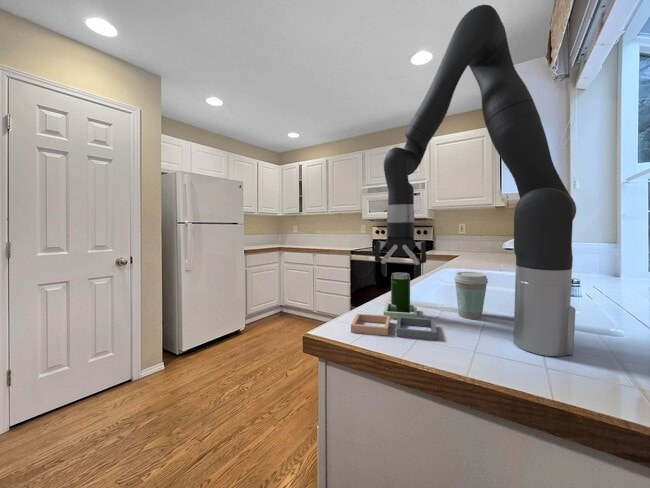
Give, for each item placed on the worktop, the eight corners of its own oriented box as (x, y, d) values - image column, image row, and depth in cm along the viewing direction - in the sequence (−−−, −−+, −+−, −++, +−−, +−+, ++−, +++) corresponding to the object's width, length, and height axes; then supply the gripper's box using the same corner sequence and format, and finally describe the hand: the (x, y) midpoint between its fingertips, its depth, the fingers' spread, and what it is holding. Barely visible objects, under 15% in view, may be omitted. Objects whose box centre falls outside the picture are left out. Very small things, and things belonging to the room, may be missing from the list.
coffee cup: (456, 309, 86) (457, 270, 85) (488, 314, 81) (489, 273, 80) (450, 317, 79) (451, 275, 78) (485, 323, 74) (486, 278, 73)
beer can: (401, 318, 78) (401, 276, 78) (387, 313, 83) (387, 273, 82) (414, 314, 81) (414, 274, 80) (399, 310, 86) (399, 271, 85)
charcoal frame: (433, 325, 73) (433, 319, 72) (436, 340, 64) (436, 332, 64) (397, 323, 75) (397, 316, 75) (396, 336, 67) (396, 329, 66)
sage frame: (416, 310, 85) (416, 304, 85) (417, 320, 77) (417, 314, 76) (386, 308, 88) (386, 302, 88) (383, 318, 79) (383, 311, 79)
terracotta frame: (390, 322, 76) (390, 316, 76) (387, 335, 67) (387, 328, 67) (357, 319, 78) (357, 313, 78) (350, 332, 70) (350, 325, 70)
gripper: (426, 220, 82) (425, 275, 83) (376, 221, 86) (376, 273, 87) (427, 220, 74) (426, 280, 76) (373, 221, 78) (373, 278, 80)
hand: (399, 276), depth 81 cm, fingers open, 8 cm apart
